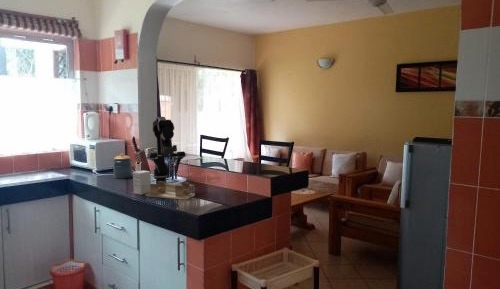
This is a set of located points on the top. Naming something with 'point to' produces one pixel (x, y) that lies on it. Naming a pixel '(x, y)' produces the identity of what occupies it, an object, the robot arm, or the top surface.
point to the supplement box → (141, 182)
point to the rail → (171, 187)
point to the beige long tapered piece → (179, 193)
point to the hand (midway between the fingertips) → (168, 171)
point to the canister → (122, 167)
